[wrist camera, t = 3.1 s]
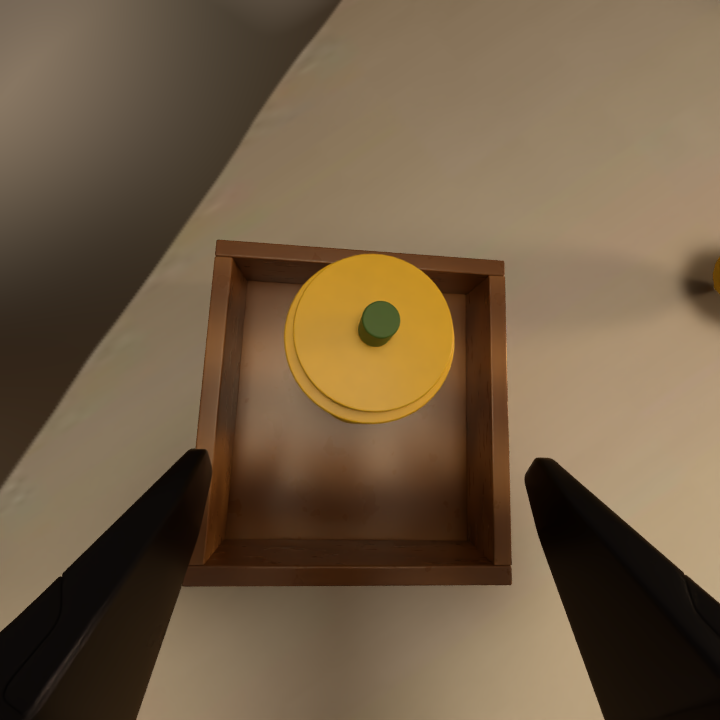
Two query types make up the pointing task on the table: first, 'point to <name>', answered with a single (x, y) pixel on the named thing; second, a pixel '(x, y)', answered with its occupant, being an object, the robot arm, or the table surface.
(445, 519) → the wooden tray
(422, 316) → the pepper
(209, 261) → the table surface
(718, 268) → the lemon
